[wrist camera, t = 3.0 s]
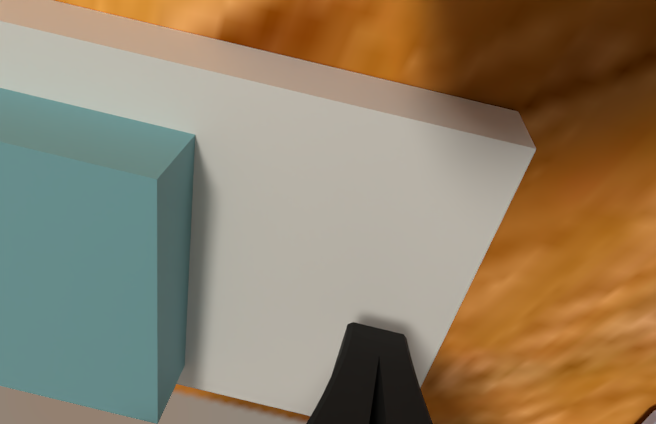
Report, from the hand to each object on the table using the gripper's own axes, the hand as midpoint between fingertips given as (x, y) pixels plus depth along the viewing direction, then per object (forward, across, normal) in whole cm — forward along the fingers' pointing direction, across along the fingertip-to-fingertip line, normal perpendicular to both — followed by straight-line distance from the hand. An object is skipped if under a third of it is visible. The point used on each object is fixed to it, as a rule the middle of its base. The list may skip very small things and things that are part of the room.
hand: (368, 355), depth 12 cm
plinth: (+3, +5, 0) cm, 6 cm away
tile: (+1, +8, 0) cm, 8 cm away
